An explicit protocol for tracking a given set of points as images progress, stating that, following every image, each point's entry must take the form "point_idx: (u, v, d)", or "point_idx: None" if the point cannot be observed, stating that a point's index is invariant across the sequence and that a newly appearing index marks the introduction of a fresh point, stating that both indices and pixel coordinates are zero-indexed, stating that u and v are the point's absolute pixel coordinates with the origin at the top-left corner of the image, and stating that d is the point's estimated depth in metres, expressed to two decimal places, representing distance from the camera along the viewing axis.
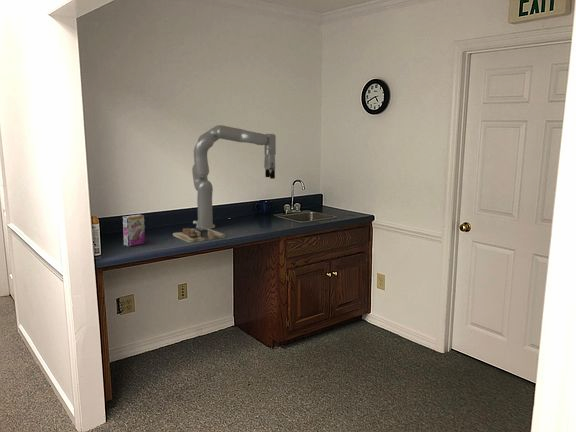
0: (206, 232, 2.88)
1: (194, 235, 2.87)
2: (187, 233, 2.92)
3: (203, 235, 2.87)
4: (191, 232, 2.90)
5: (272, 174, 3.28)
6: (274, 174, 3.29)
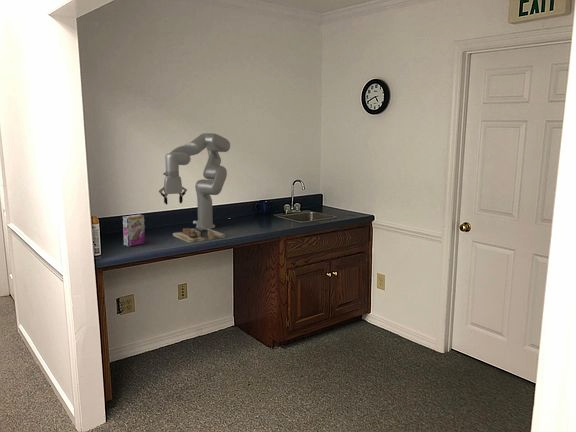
0: (206, 232, 2.88)
1: (194, 235, 2.87)
2: (187, 233, 2.92)
3: (203, 235, 2.87)
4: (191, 232, 2.90)
5: (182, 198, 2.96)
6: None
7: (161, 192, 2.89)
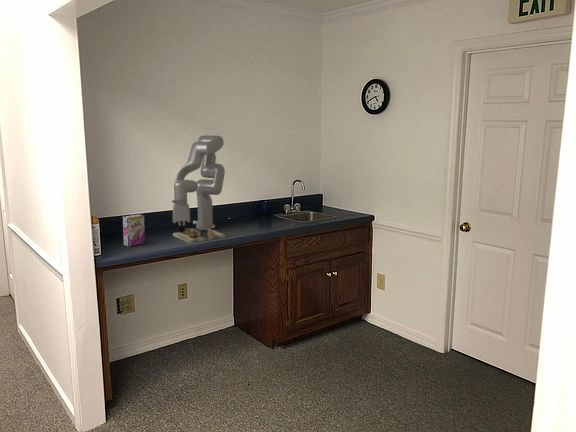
0: (206, 232, 2.88)
1: (194, 235, 2.87)
2: (188, 233, 2.93)
3: (203, 235, 2.87)
4: (191, 232, 2.90)
5: None
6: None
7: (175, 221, 2.97)
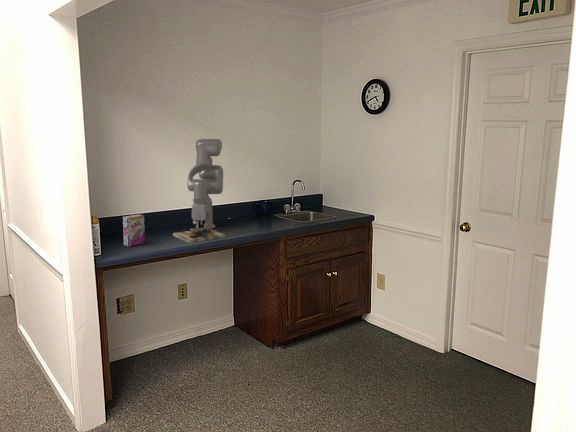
0: (206, 232, 2.88)
1: (191, 235, 2.87)
2: None
3: (203, 235, 2.87)
4: (195, 232, 2.91)
5: (202, 226, 3.01)
6: None
7: None
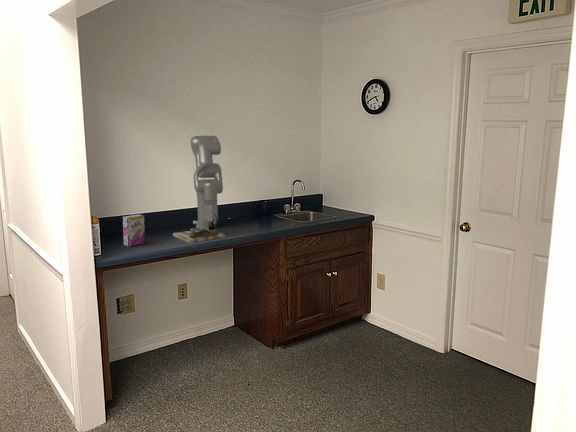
0: (206, 232, 2.88)
1: (190, 235, 2.87)
2: None
3: (203, 235, 2.87)
4: (196, 232, 2.90)
5: (212, 228, 2.98)
6: (214, 227, 3.00)
7: (207, 220, 3.01)
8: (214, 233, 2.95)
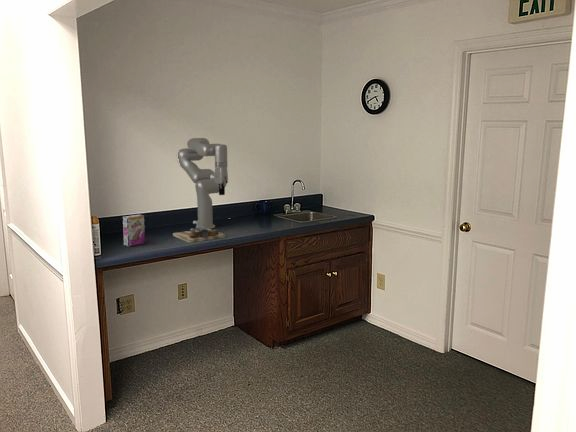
0: (206, 232, 2.88)
1: (190, 235, 2.87)
2: None
3: (203, 235, 2.87)
4: (196, 232, 2.90)
5: (222, 190, 3.01)
6: (224, 190, 3.03)
7: (218, 183, 3.05)
8: (214, 233, 2.95)
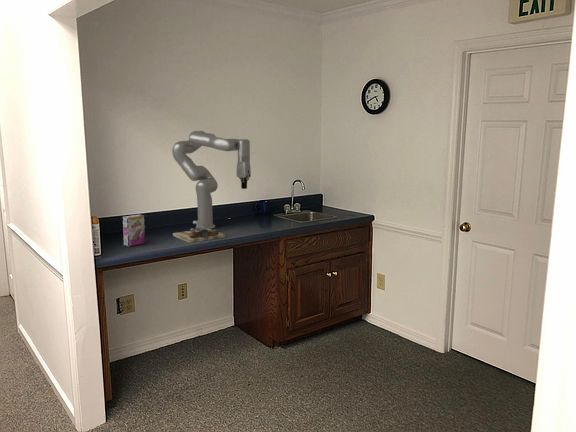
0: (206, 232, 2.88)
1: (190, 235, 2.87)
2: None
3: (203, 235, 2.87)
4: (196, 232, 2.90)
5: (244, 184, 3.08)
6: (246, 184, 3.10)
7: (240, 177, 3.11)
8: (214, 233, 2.95)
